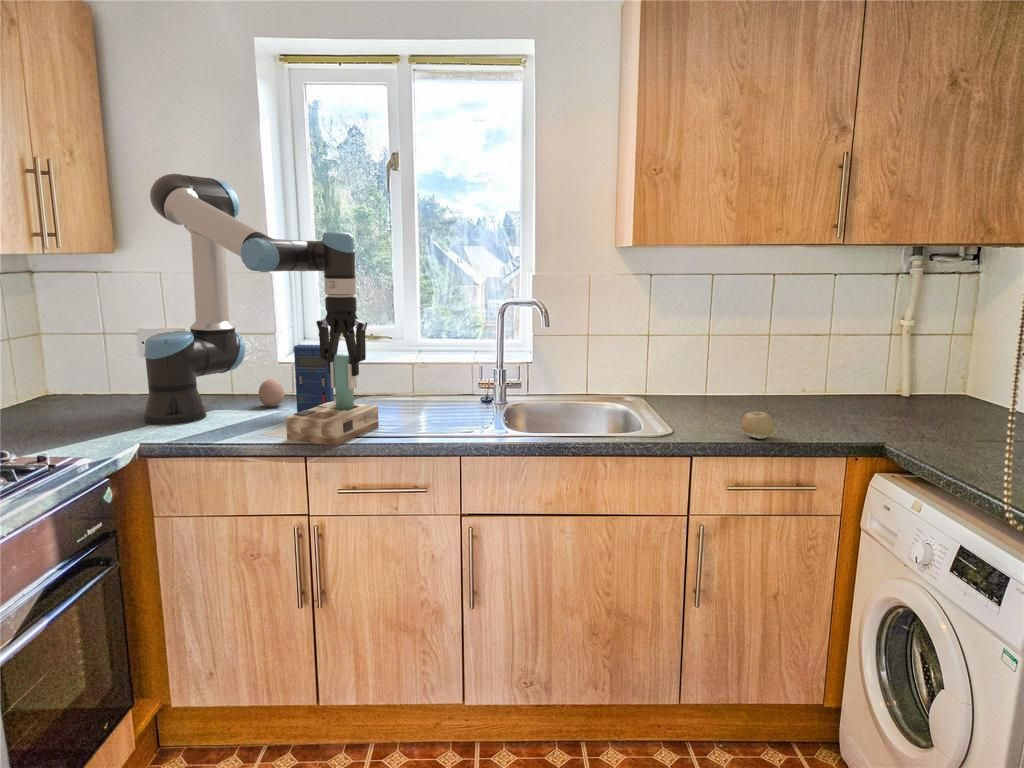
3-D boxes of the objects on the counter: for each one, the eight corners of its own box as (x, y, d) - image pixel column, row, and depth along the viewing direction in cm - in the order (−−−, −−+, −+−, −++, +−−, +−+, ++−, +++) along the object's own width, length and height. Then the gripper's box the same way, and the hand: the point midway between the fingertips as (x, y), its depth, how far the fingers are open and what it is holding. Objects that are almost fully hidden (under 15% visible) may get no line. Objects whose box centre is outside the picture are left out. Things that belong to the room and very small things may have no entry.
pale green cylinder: (332, 410, 165) (330, 355, 162) (342, 406, 169) (340, 353, 166) (347, 411, 163) (345, 356, 161) (357, 407, 167) (355, 354, 165)
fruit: (772, 436, 167) (775, 406, 166) (771, 443, 161) (774, 412, 159) (742, 432, 170) (744, 403, 169) (739, 439, 164) (742, 409, 162)
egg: (254, 406, 192) (252, 379, 190) (276, 402, 197) (275, 376, 195) (267, 410, 187) (265, 382, 185) (289, 406, 192) (288, 379, 191)
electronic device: (296, 418, 179) (292, 346, 175) (301, 413, 184) (298, 344, 180) (330, 418, 179) (327, 347, 175) (335, 414, 184) (332, 344, 180)
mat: (259, 436, 160) (259, 434, 160) (280, 428, 167) (280, 427, 167) (286, 439, 157) (286, 438, 157) (306, 431, 165) (306, 430, 165)
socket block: (287, 441, 156) (285, 415, 155) (332, 423, 174) (332, 400, 173) (337, 447, 152) (336, 421, 150) (379, 428, 169) (378, 404, 168)
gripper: (301, 295, 160) (306, 387, 164) (363, 297, 154) (365, 392, 159) (320, 294, 167) (323, 382, 171) (379, 296, 161) (381, 387, 166)
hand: (344, 387), depth 165 cm, fingers closed on pale green cylinder, 4 cm apart
